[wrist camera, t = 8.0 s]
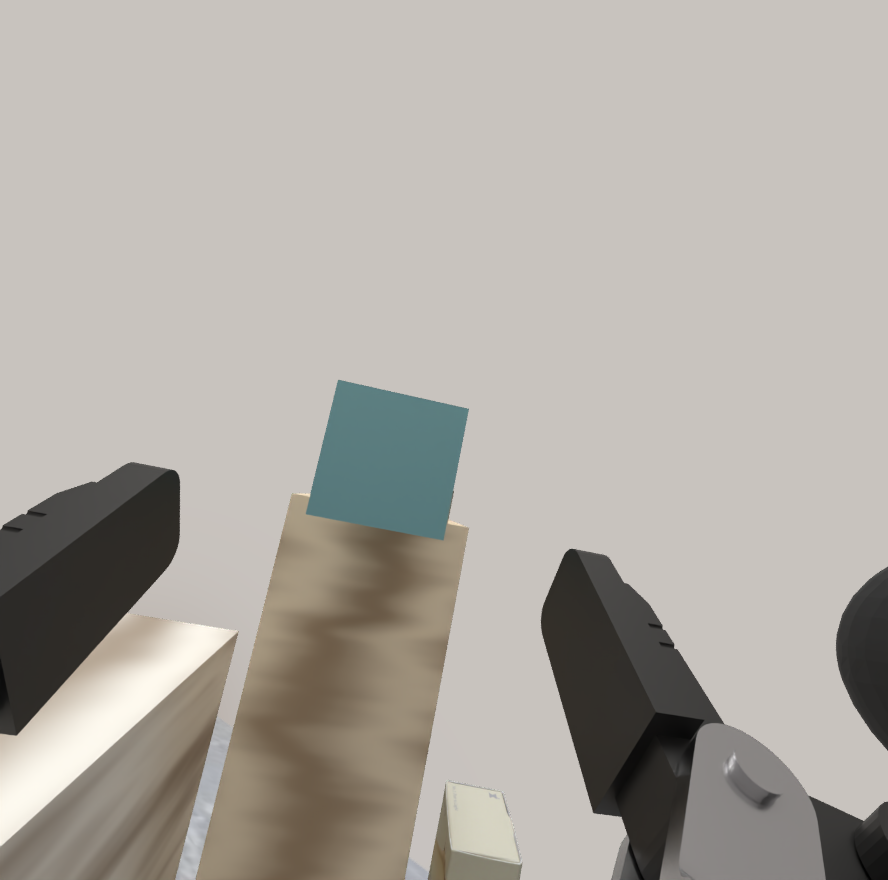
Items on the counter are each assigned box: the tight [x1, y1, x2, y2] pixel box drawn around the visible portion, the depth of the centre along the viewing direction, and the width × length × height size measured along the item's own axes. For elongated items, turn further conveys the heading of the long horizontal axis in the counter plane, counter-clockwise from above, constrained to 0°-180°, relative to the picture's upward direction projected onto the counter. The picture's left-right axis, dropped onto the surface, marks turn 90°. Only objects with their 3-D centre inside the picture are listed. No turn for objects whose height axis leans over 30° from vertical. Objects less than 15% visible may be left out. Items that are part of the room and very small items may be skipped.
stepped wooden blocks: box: [0, 491, 469, 880], centre depth 18 cm, size 19×25×32 cm
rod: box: [306, 380, 469, 541], centre depth 22 cm, size 3×26×3 cm, turn 7°
